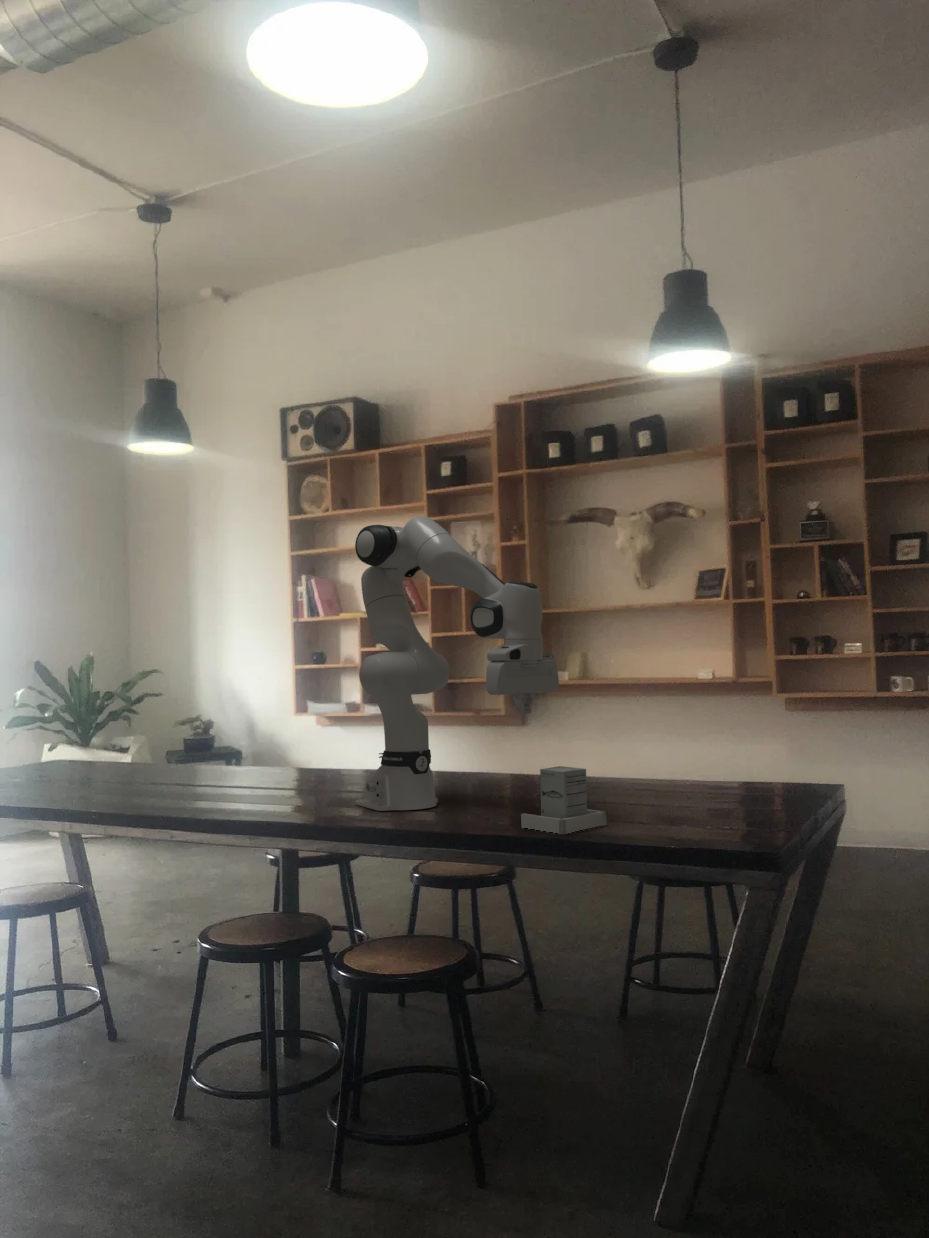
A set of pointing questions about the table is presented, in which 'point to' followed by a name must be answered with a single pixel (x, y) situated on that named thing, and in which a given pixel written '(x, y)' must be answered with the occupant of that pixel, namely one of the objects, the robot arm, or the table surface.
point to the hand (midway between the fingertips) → (524, 713)
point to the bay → (564, 822)
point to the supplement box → (563, 792)
